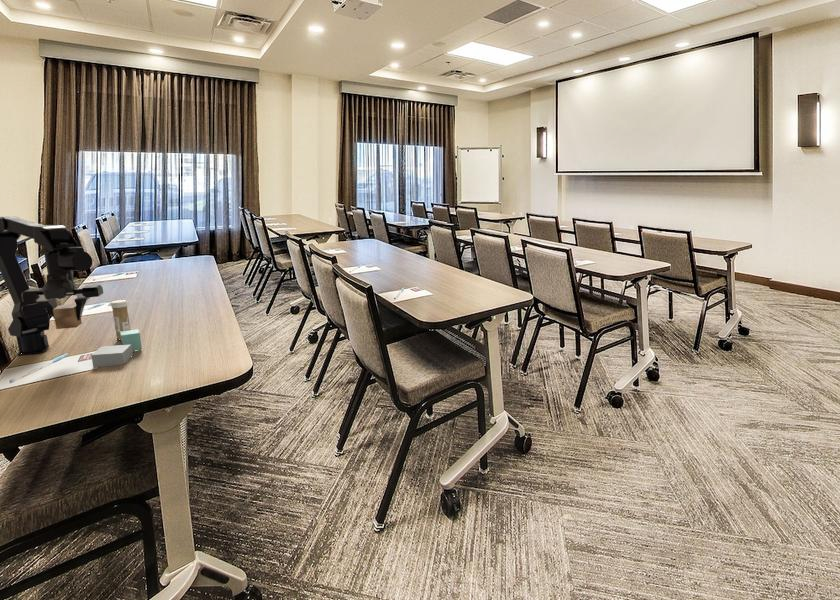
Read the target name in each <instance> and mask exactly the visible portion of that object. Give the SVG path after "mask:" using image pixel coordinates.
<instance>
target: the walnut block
mask: <svg viewBox="0 0 840 600" xmlns="http://www.w3.org/2000/svg"><path fill="white" fill-rule="evenodd" d="M53 313H54V318H55V319H54V318H53V319H54V323H55V329H56V330H61V329H74V328H78V327H79V326H80V325H82V324H83V321H82V319H81V320H79V321H78V319H77V311H76V303H74V304H66V305H65V304H62V305H57V307H56V308H54V309H53Z"/></svg>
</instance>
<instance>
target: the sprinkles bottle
mask: <svg viewBox="0 0 840 600" xmlns="http://www.w3.org/2000/svg"><path fill="white" fill-rule="evenodd" d="M110 304H111V305H110V306H111V309H112V314H113V317H112V318H113V323H114V330H115V333H116V340H117V339H120V340H121V335H120V332H121V331H128V330H131V326H130V325H131V324H130V317H129V313H128V312H129V311H128V302H127V300H126V299H117V300H112V301H111V302H110Z"/></svg>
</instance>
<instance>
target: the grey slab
mask: <svg viewBox="0 0 840 600" xmlns="http://www.w3.org/2000/svg"><path fill="white" fill-rule="evenodd" d="M133 353H134V352H132V346H131V344H130V345H122V344H119V345H118V344H117V345H105V346H104V345H103V346H100V347H99V348H98V349H97V350H96V351H94V352H93V353H92V354H91V361H92V362H91V363H92V368H100V366H101V367H102V366H103V367H113V366H114V365H115V366H124V365H123V364H125V363H126V362H127V363H128V362H129V361H130V359H131V358H132V357H133V356H134V354H133ZM132 355H133V356H132ZM131 356H132V357H131ZM130 357H131V358H130ZM129 358H130V359H129ZM127 363H126V364H127ZM126 364H125V365H126Z"/></svg>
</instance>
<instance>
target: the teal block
mask: <svg viewBox="0 0 840 600" xmlns="http://www.w3.org/2000/svg"><path fill="white" fill-rule="evenodd" d="M120 335H121V341H120V343H121V345H130V344H131V346H132V351H135V350H141V349H142V350H143V347H142V341H141V333H140V331H139V328H135V329H130V330H128V331H121V332H120Z"/></svg>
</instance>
